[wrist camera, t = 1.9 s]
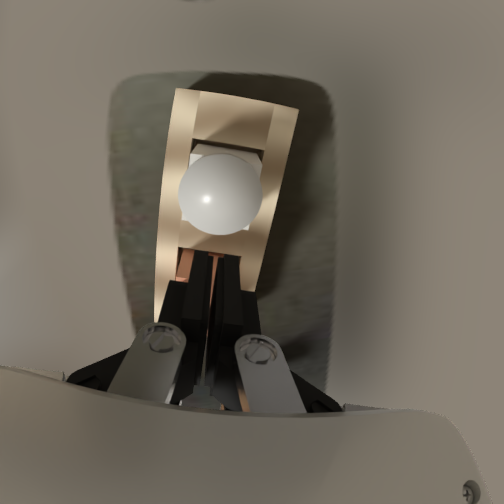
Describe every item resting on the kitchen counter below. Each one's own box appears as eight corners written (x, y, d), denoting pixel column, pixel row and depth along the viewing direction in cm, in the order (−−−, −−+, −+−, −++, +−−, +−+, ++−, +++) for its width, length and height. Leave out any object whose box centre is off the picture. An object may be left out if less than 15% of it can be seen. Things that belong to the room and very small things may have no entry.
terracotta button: (180, 243, 28) (169, 277, 23) (240, 252, 29) (242, 287, 24) (175, 293, 31) (167, 330, 26) (230, 300, 32) (230, 339, 27)
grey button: (194, 138, 24) (183, 148, 19) (262, 149, 25) (270, 163, 20) (184, 202, 26) (173, 228, 21) (248, 212, 27) (253, 240, 22)
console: (185, 90, 25) (176, 88, 21) (287, 108, 27) (299, 109, 22) (161, 297, 36) (154, 323, 32) (241, 308, 38) (243, 335, 33)
